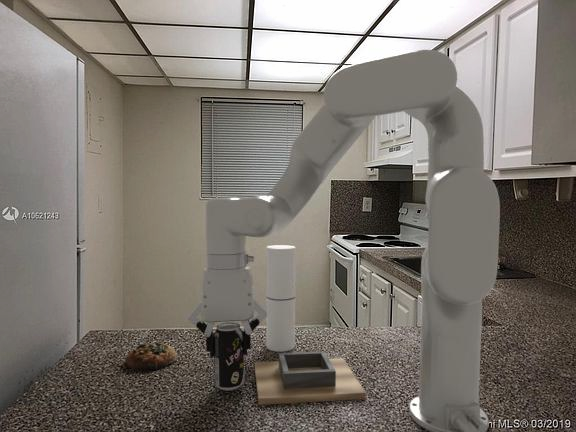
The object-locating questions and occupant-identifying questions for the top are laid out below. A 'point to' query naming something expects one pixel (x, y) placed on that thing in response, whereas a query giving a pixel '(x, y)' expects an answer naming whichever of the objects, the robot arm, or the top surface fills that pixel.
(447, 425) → the robot arm
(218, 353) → the beverage can
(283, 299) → the cylindrical container
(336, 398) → the board
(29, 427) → the top surface
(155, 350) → the bread roll
